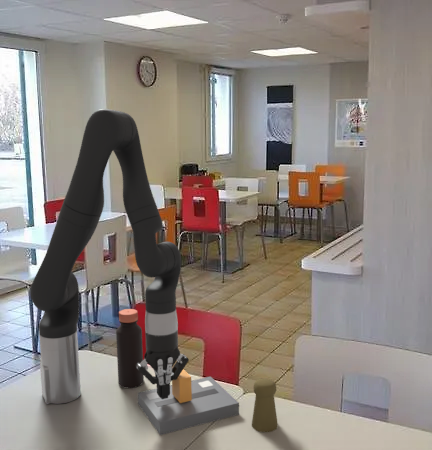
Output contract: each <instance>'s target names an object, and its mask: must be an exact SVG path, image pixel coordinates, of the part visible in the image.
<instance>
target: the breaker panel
mask: <svg viewBox="0 0 432 450" xmlns="http://www.w3.org/2000/svg"><path fill="white" fill-rule="evenodd" d="M191 390H192V400H191V401H187V402H183V403H179V401H178V400H177V399H176V398H175V397H174V396H173V394H172V384H170V395H169V396H168V398H166V399H161V398H160V397H159V396H158V394H157V387H156V388H152V389H149V390H148V389H146V390H144V391H138V392H136V393H137V405H138V406H139V407H140V409H141V410H142V412H143V413H144V415H145V416H146V417H147V419H148V420H149V421H150V423H151V425H152V426H153V427H154V429H155V430H156V431H157V433H158V434H159V436H162V435H165V434H168V433H174V432H176V431H181V430H184V429H188V428H189V429H190V428H192V427H196V426H201V425H203V424H207V423H212V422H214V421H215V422H216V421H219V420H224V419H226V418H231V417H235V416H238V415H240V402H239V401H237V399H236V398H234V397H233V396H232V395H231V394H230V393H229V392H228V391H227V390H226V389H225V388H224V387H222V386H221V384H220V383H218V382H217V381H216V380H215V379H214V378H213V377H212V376H206V377H202V378H198V379H194V380H192V379H191Z"/></svg>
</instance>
